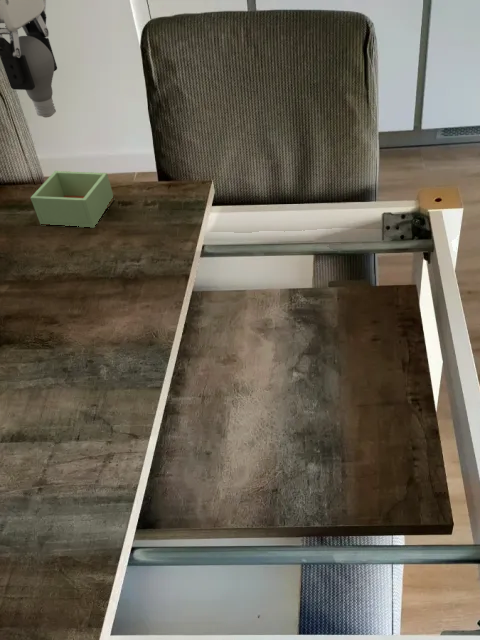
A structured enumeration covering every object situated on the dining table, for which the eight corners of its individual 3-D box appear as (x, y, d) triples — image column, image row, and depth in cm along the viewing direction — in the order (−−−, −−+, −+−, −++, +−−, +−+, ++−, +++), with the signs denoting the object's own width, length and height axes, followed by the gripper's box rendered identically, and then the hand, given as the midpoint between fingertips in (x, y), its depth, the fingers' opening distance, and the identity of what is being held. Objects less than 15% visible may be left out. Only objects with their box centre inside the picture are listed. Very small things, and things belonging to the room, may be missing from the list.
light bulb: (58, 125, 90) (32, 44, 83) (17, 123, 91) (-11, 43, 83) (76, 108, 94) (53, 29, 87) (37, 106, 95) (11, 29, 87)
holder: (40, 225, 102) (30, 197, 98) (64, 197, 108) (54, 170, 104) (94, 228, 101) (85, 200, 97) (114, 200, 106) (107, 172, 103)
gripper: (-12, -101, 82) (38, 57, 95) (-92, -72, 70) (-23, 103, 83) (44, -102, 81) (86, 58, 94) (-28, -72, 69) (32, 105, 82)
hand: (34, 78), depth 89 cm, fingers closed on light bulb, 6 cm apart
